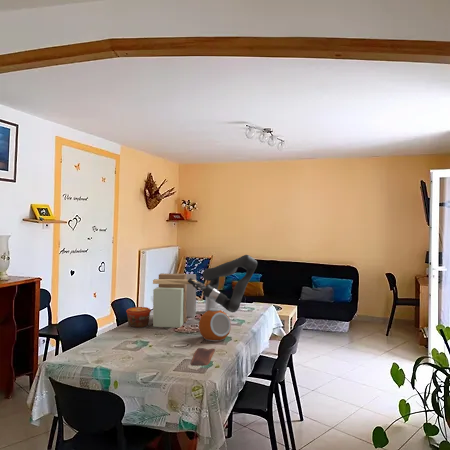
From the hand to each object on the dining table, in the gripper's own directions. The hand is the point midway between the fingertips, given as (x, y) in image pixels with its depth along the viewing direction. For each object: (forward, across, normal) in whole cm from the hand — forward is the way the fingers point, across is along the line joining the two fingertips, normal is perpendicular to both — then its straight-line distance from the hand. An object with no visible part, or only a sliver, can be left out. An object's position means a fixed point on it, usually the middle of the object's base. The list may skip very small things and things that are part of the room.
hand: (189, 279), depth 278 cm
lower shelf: (-3, 0, +33) cm, 33 cm away
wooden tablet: (-31, +60, +18) cm, 70 cm away
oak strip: (+7, 0, +7) cm, 10 cm away
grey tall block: (-8, -28, +30) cm, 42 cm away
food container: (+14, +3, +43) cm, 45 cm away
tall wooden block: (-3, -12, +33) cm, 35 cm away
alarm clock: (-33, +25, +17) cm, 45 cm away
